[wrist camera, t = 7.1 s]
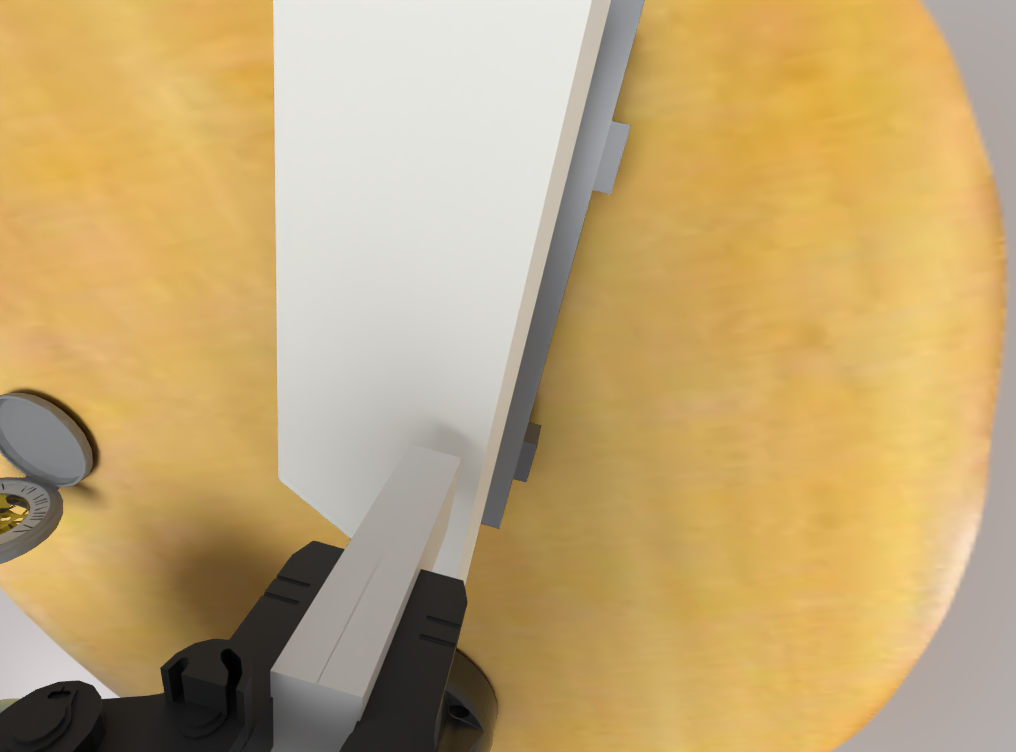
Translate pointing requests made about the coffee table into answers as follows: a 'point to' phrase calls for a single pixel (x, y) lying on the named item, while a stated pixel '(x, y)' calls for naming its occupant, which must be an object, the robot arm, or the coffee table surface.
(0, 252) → the coffee table surface
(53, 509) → the pocket watch
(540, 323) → the box
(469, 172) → the panel
